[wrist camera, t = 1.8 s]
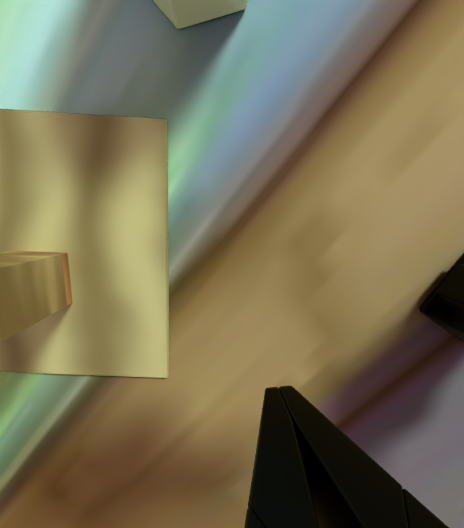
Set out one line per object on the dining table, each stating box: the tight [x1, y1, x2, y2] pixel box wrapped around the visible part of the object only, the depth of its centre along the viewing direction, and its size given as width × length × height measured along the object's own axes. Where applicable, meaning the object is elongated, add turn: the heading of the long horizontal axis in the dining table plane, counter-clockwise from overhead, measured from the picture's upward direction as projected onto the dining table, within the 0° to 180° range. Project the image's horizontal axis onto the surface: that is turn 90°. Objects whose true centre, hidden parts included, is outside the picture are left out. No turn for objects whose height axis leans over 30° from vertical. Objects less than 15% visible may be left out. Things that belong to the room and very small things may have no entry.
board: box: [0, 109, 169, 378], centre depth 17 cm, size 24×20×1 cm
